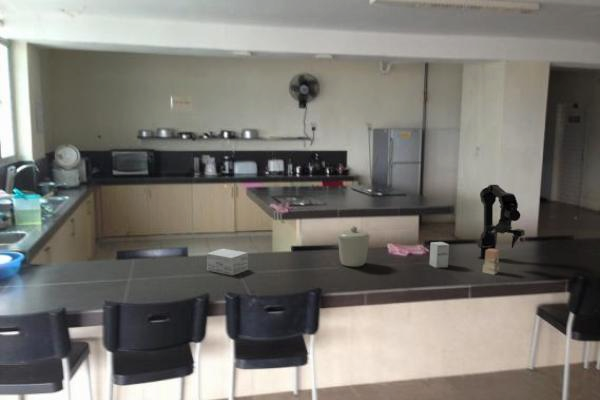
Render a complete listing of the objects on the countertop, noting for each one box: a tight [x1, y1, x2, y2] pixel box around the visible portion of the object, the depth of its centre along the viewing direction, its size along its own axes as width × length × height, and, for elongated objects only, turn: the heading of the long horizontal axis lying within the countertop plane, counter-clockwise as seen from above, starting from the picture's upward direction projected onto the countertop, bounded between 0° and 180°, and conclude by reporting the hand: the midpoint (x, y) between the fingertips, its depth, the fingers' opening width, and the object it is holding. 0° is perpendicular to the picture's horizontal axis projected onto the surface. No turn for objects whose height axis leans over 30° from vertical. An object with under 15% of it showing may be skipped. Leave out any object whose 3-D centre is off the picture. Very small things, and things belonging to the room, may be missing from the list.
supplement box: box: [428, 241, 450, 269], centre depth 279 cm, size 7×7×13 cm
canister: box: [336, 225, 371, 268], centre depth 278 cm, size 18×18×21 cm
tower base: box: [482, 263, 500, 275], centre depth 269 cm, size 6×6×4 cm
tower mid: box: [484, 257, 500, 267], centre depth 268 cm, size 5×5×4 cm
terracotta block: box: [485, 248, 500, 259], centre depth 268 cm, size 5×5×4 cm
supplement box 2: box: [206, 248, 249, 276], centre depth 265 cm, size 17×13×9 cm
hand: (503, 246), depth 273 cm, fingers open, 9 cm apart
